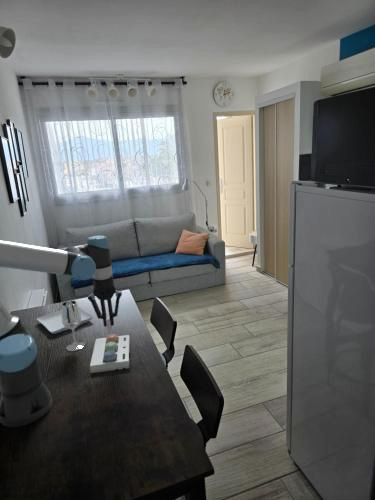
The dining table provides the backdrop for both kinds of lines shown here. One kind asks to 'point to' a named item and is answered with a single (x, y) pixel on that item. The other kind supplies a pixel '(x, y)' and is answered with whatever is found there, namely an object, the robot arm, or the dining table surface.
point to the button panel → (121, 353)
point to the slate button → (109, 356)
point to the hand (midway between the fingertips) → (110, 333)
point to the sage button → (111, 346)
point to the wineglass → (71, 322)
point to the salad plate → (55, 322)
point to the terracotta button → (112, 338)
